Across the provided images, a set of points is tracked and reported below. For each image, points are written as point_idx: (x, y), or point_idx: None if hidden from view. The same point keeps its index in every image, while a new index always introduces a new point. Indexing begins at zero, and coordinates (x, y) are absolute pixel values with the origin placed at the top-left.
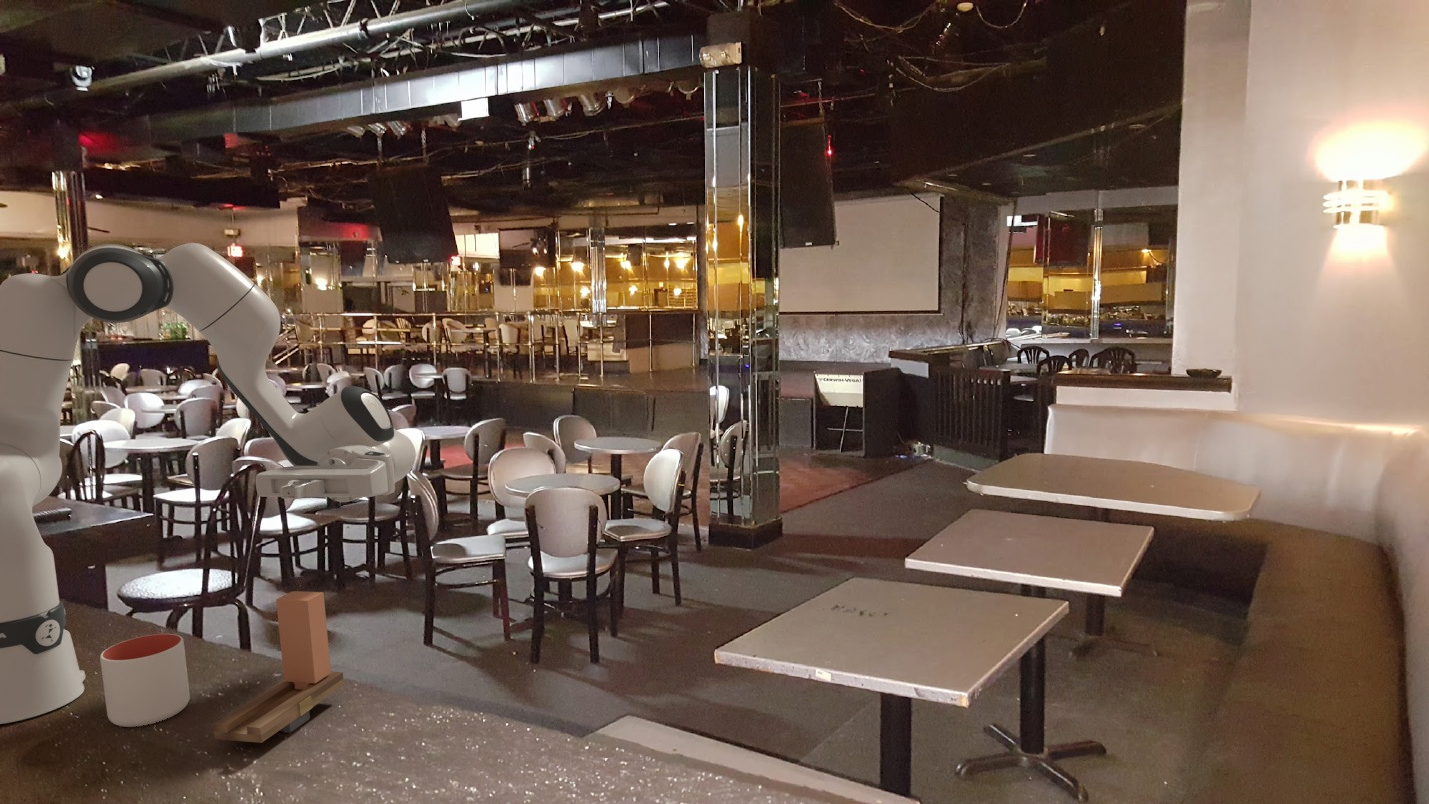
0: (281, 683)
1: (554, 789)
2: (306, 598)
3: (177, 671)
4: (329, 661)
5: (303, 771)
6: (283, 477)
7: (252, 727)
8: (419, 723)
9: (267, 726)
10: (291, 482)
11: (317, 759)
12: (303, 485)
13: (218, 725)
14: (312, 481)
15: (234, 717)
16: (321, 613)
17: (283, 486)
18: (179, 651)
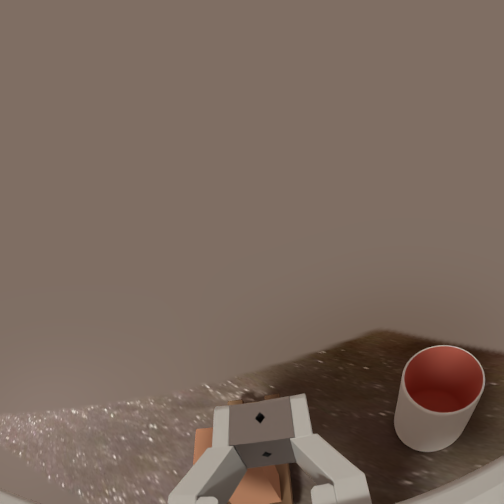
0: (284, 475)
1: (37, 414)
2: (204, 436)
3: (402, 412)
4: (229, 501)
5: (188, 410)
6: (449, 483)
7: (235, 400)
8: (128, 486)
9: None
10: (322, 461)
11: (187, 425)
12: (212, 440)
13: (273, 395)
14: (197, 489)
15: None
16: None
17: (297, 400)
18: (409, 405)
